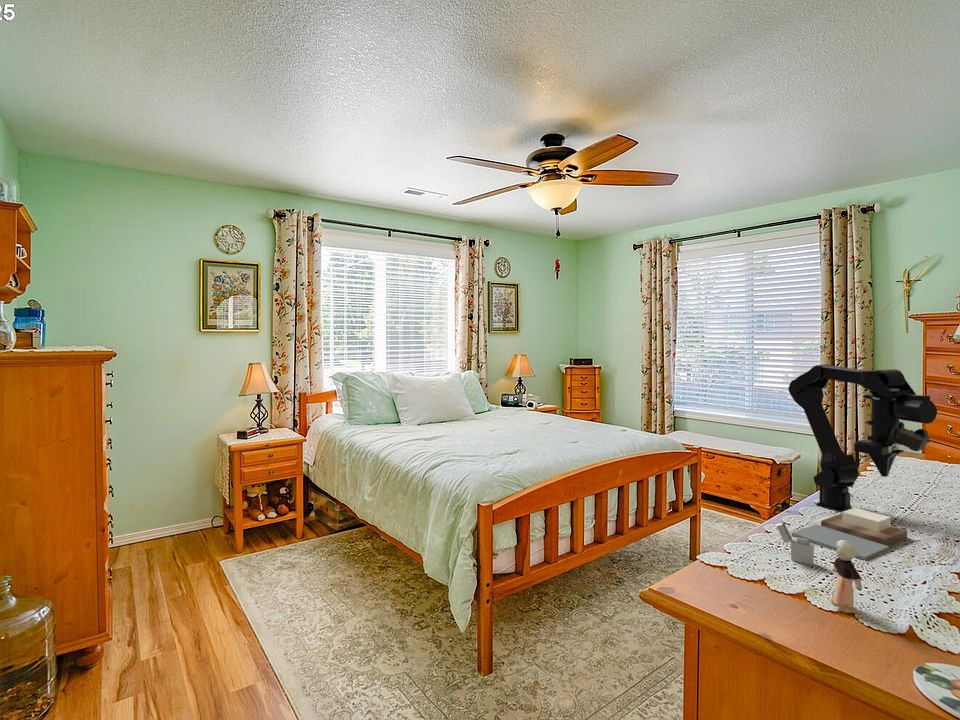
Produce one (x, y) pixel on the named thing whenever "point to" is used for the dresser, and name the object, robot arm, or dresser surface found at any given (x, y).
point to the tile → (866, 519)
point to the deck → (866, 531)
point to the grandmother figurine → (845, 577)
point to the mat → (831, 537)
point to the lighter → (797, 546)
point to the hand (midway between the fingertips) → (884, 476)
